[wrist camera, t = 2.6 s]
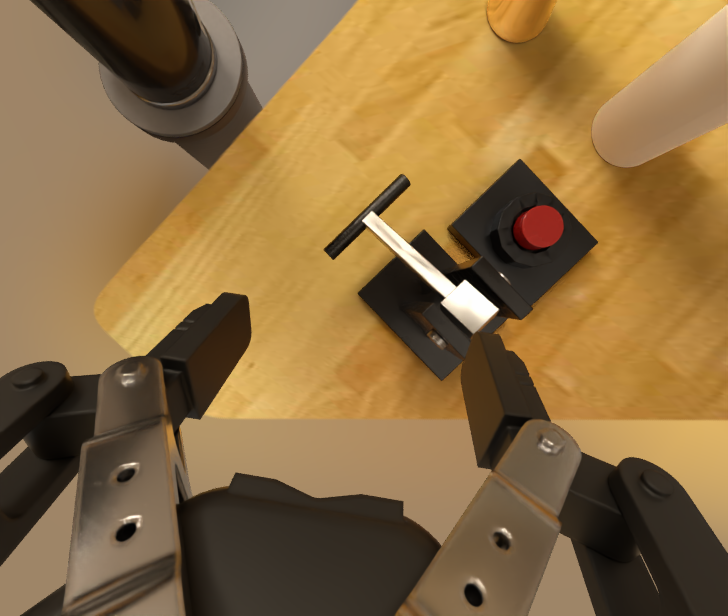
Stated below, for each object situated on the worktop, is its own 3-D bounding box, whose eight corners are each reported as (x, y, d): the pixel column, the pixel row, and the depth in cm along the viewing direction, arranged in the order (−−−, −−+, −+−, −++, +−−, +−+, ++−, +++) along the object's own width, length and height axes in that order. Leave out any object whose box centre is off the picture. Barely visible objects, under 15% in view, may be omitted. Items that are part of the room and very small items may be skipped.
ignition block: (446, 228, 33) (456, 220, 29) (512, 165, 33) (529, 149, 29) (521, 307, 33) (539, 308, 30) (586, 245, 33) (613, 238, 29)
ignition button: (504, 229, 30) (513, 225, 28) (533, 202, 30) (544, 196, 28) (531, 258, 30) (542, 256, 28) (560, 231, 30) (572, 226, 28)
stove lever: (329, 256, 26) (317, 244, 23) (402, 184, 26) (398, 165, 23) (439, 369, 22) (438, 368, 20) (526, 286, 22) (535, 275, 19)
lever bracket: (357, 293, 33) (352, 291, 19) (422, 231, 33) (463, 184, 19) (439, 378, 33) (491, 435, 20) (503, 317, 33) (602, 331, 19)
